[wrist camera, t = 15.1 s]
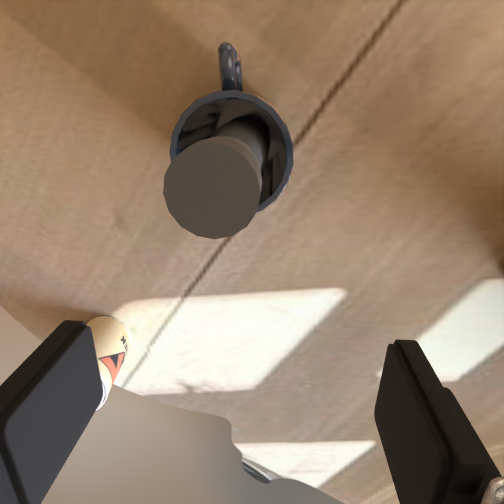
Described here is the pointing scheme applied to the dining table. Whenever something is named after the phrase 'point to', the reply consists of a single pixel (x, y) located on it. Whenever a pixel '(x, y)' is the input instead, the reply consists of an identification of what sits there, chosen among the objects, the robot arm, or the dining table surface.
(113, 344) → the coffee cup
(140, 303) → the dining table surface
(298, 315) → the dining table surface
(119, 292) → the dining table surface
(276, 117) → the dark grey mug
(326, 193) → the dining table surface
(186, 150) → the candle holder
